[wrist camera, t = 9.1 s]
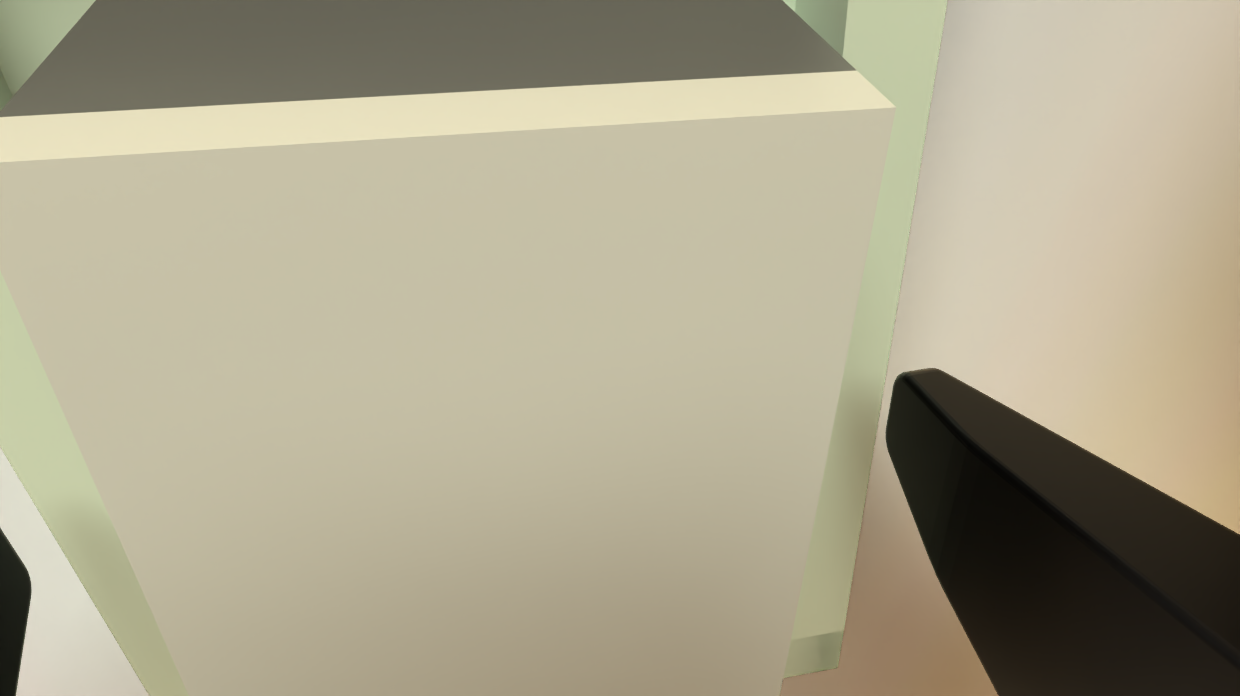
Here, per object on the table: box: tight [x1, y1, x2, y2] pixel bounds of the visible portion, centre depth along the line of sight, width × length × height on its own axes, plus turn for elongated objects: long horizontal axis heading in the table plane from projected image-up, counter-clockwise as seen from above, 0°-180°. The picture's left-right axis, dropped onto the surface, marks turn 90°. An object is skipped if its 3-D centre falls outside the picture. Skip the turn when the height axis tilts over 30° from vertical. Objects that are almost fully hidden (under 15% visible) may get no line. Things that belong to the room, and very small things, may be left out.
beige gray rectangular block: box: [0, 0, 896, 696], centre depth 10 cm, size 5×9×5 cm, turn 0°
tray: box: [0, 0, 948, 696], centre depth 11 cm, size 10×14×2 cm
